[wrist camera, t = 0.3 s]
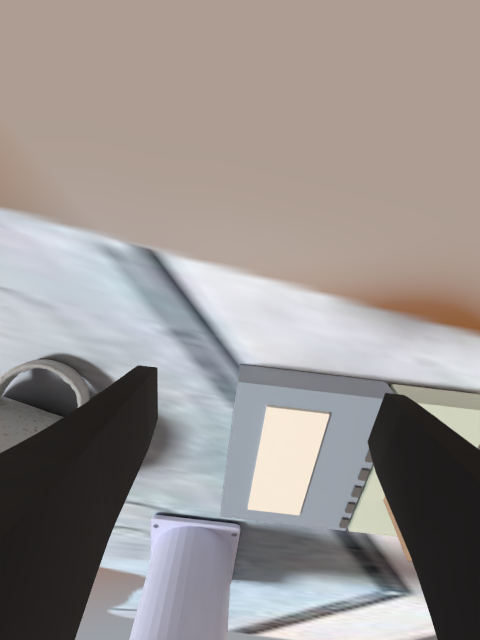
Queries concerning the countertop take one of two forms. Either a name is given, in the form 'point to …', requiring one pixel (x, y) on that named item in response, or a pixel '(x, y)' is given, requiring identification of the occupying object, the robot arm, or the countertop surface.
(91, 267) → the countertop surface
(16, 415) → the ceramic mug
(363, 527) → the stub
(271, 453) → the board
